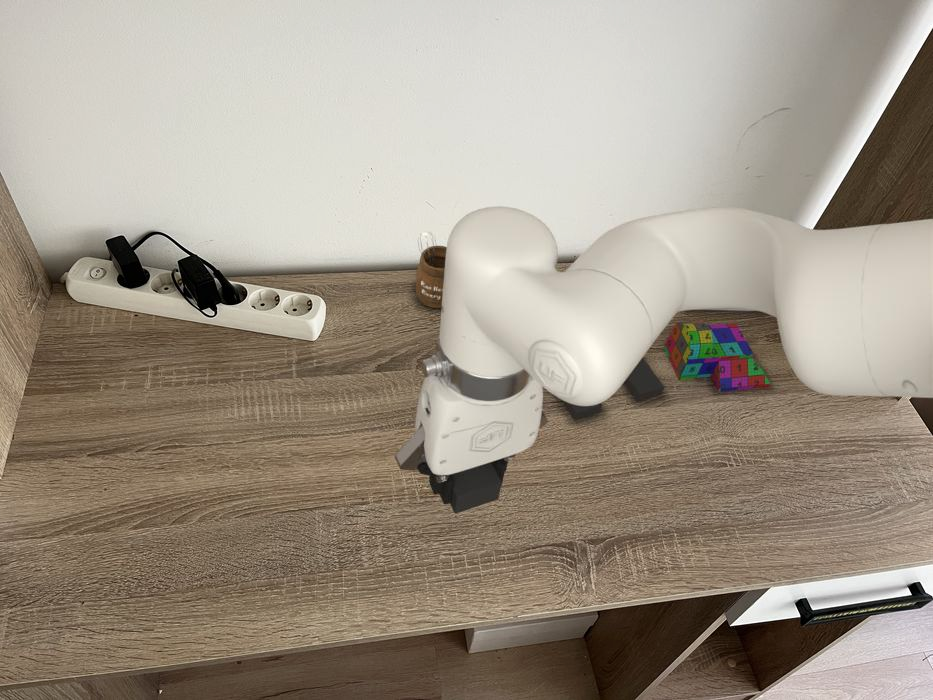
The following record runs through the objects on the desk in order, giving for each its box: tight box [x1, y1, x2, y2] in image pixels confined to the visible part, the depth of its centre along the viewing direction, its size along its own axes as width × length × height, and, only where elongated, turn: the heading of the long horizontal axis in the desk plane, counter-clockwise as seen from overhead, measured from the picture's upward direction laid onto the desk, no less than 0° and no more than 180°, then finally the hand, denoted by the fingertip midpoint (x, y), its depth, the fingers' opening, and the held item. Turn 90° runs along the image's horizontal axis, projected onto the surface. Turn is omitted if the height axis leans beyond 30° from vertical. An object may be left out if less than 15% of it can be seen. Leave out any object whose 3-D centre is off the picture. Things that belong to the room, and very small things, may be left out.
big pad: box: [561, 356, 665, 421], centre depth 101 cm, size 22×13×2 cm, turn 23°
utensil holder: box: [415, 231, 447, 309], centre depth 101 cm, size 6×6×12 cm
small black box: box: [449, 462, 503, 515], centre depth 71 cm, size 5×4×3 cm
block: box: [663, 320, 772, 393], centre depth 99 cm, size 12×8×7 cm
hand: (467, 481), depth 71 cm, fingers closed on small black box, 4 cm apart
